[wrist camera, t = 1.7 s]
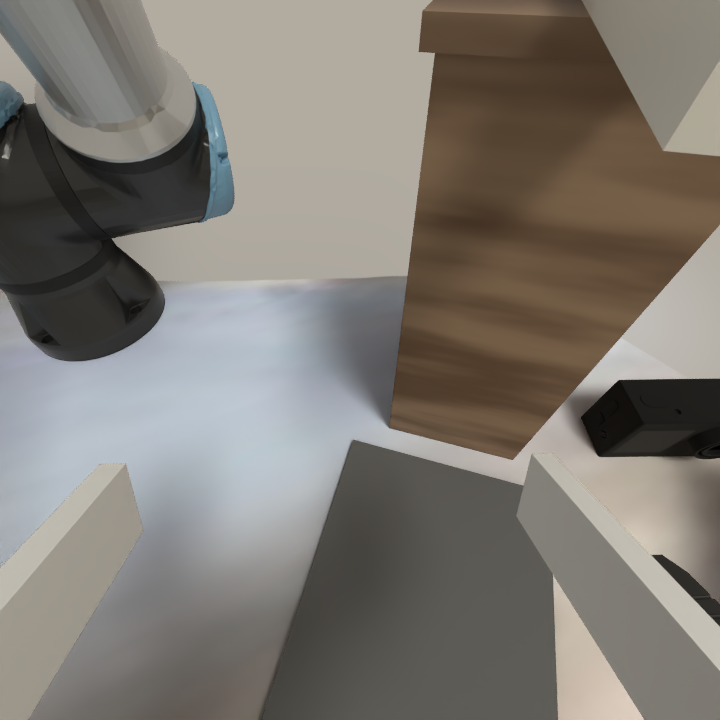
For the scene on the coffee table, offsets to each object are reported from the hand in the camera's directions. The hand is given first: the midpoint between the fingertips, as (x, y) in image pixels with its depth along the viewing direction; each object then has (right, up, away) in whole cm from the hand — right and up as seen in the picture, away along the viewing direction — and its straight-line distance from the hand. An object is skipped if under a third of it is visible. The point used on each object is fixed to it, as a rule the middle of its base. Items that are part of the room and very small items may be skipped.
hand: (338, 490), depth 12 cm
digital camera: (+28, -4, +23) cm, 37 cm away
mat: (+5, -16, +13) cm, 21 cm away
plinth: (+12, +3, +28) cm, 30 cm away
